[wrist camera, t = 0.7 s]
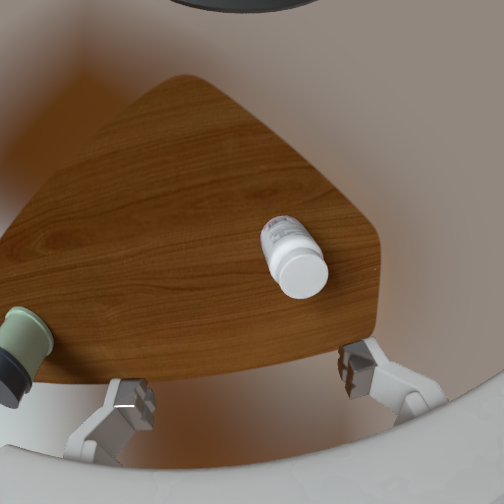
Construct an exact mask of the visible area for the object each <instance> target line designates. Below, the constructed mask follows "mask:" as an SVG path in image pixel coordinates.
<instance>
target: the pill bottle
mask: <svg viewBox="0 0 504 504" xmlns="http://www.w3.org/2000/svg"><path fill="white" fill-rule="evenodd" d="M260 242H261V247H262V250H263V252H264V255H265V258H266V261H267V264H268V267H269V270H270V273H271V275H272V277H273V278H274V280H275V281H276V282H277V283H279V285H280V287H281V289H282V290H283V292H284V293H285V294H286V295H288V296H290V297H292V298H296V299H304V298H309V297H311V296H313V295H315V294H317V293H318V292H319V291H320V290H321V289H322V288H323V287H324V285H325V284H326V282H327V279H328V268H327V265H326V263H325V261H324V260H323V254H322V251H321V249H320V247H319V246H318V245H317V243H316V242H315V241H314V239H313V238H312V237H311V235H310V234H309V233H308V231H307V230H306V229H305V227H304V226H303V225H302V224H301V223H300V222H299V221H298V220H297V219H295V218H293V217H290V216H279V217H276V218H273V219H272V220H270V221H269V222H268V223H267V224H266V225H265V226H264V228H263V230H262V232H261V236H260Z"/></svg>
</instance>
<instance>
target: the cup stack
mask: <svg viewBox="0 0 504 504" xmlns="http://www.w3.org/2000/svg"><path fill="white" fill-rule="evenodd" d="M53 347H54V340H53V336H52V334H51V332H50V330H49V328H48V327H47V325H46V324H45V323H44V321H43V320H42V319H41V318H40V317H39V316H37V315H36V314H35V313H33V312H32V311H30V310H28V309H26V308H23V307H13V308H11V309H10V310H9V312H8V313H7V315H6V320H5V321H4V322H3V324H2V325H1V326H0V404H2V405H4V406H6V407H9V408H13V409H16V408H18V407H19V404H20V402H21V400H22V398H23V396H24V394H26V393H28V392H29V391H30V390H31V387H32V382H33V380H34V378H35V376H36V374H37V372H38V370H39V368H40V366H41V364H42V362H43V360H44V359H45V357H46V356H47V355H49V354H50V353H51V351H52V349H53Z"/></svg>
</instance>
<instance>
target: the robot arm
mask: <svg viewBox="0 0 504 504" xmlns="http://www.w3.org/2000/svg"><path fill="white" fill-rule="evenodd" d="M338 353H339V355H340V358H339V359H338V370H339V374H340V377H341V379H342V381H344V382H346V384H345V389H346V391H347V394H348V396H349V398H350V399H354V398H358V397H361V396H365V395H368V394H369V395H370V396H371V397H372V398H374V399H375V400H376V401H378V402H380V403H381V404H382V405H384V406H385V407H387V408H388V409H390V410H391V411H392V412H394V413H395V414H397V415H398V417H397V419H396V421H395V423H394V426H393V428H390V429H387V430H385V431H382V432H379V433H376V434H374V435H371V436H368V437H365V438H362V439H359V440H356V441H353V442H350V443H346V444H343V445H339V446H336V447H332V448H328V449H324V450H320V451H317V452H312V453H308V454H303V455H299V456H294V457H289V458H284V459H279V460H273V461H266V462H260V463H253V464H245V465H236V466H226V467H214V468H197V469H147V468H146V469H145V468H130V467H123V466H122V465H121V464H120V463H119V462H118V461H117V460H116V459H115V458H116V457H117V456H118V454H119V453H120V452H121V450H122V449H123V448H124V446H125V445H126V443H127V442H128V441H129V439H130V438H131V437H132V435H133V434H134V433H135V430H152V429H153V423H154V417H153V415H152V413H153V411H154V410H155V408H156V399H155V395H154V393H153V391H152V390H151V389H150V388H148V387H147V384H148V383H147V381H146V380H145V378H122V379H112V380H111V381H110V384H109V387H108V391H107V394H106V397H105V401H104V404H103V407H99V409H97V410H96V411H95V412H94V413H93V414H92V415H91V416H90V417H89V418H88V419H87V420H86V421H85V422H84V423H83V424H82V425H81V426H80V427H79V428H78V429H76V430H75V432H73V433H72V434H71V435H70V436H69V439H68V441H67V445H66V448H65V452H64V456H63V458H59V457H54V456H50V455H46V454H42V453H38V452H34V451H30V450H26V449H23V448H20V447H17V446H13V445H5V446H3V447H2V448H0V504H504V370H502V371H501V372H499V373H498V374H496V375H495V376H493V377H491V378H490V379H488V380H487V381H485V382H484V383H482V384H480V385H479V386H477V387H475V388H474V389H472V390H470V391H468V392H467V393H465V394H463V395H461V396H459V397H458V398H456V399H454V400H452V401H450V402H449V400H448V399H447V397H446V395H445V394H444V392H443V391H442V389H441V388H440V387H439V385H438V383H437V382H436V381H434V380H432V379H430V378H428V377H426V376H423V375H421V374H419V373H417V372H415V371H413V370H411V369H409V368H407V367H404V366H402V365H400V364H398V363H396V362H394V361H392V362H390V361H389V360H388V358H387V356H386V355H385V353H384V352H383V350H382V348H381V347H380V345H379V343H378V342H377V341H376V339H375V337H373V336H372V337H369V338H366V339H362V340H358V341H355V342H351V343H348V344H344V345H341V346H339V350H338Z"/></svg>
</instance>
